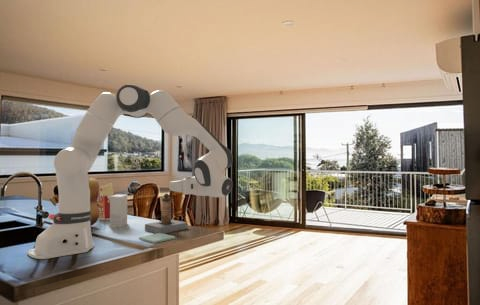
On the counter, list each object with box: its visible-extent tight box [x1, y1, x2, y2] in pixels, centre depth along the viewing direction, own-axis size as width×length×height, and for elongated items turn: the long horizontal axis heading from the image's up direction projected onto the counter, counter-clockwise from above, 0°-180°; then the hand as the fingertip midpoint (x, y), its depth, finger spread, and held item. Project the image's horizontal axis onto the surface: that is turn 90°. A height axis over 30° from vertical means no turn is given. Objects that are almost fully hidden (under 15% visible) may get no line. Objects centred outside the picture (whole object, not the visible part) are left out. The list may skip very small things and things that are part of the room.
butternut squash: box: [88, 177, 100, 226], centre depth 172 cm, size 14×13×25 cm
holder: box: [144, 218, 188, 234], centre depth 168 cm, size 16×12×3 cm
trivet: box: [138, 233, 176, 244], centre depth 149 cm, size 11×11×1 cm
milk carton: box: [98, 182, 115, 221], centre depth 197 cm, size 9×9×20 cm
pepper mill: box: [160, 193, 172, 225], centre depth 168 cm, size 5×5×18 cm
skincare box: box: [109, 193, 128, 228], centre depth 177 cm, size 8×7×16 cm
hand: (179, 183), depth 156 cm, fingers open, 8 cm apart
